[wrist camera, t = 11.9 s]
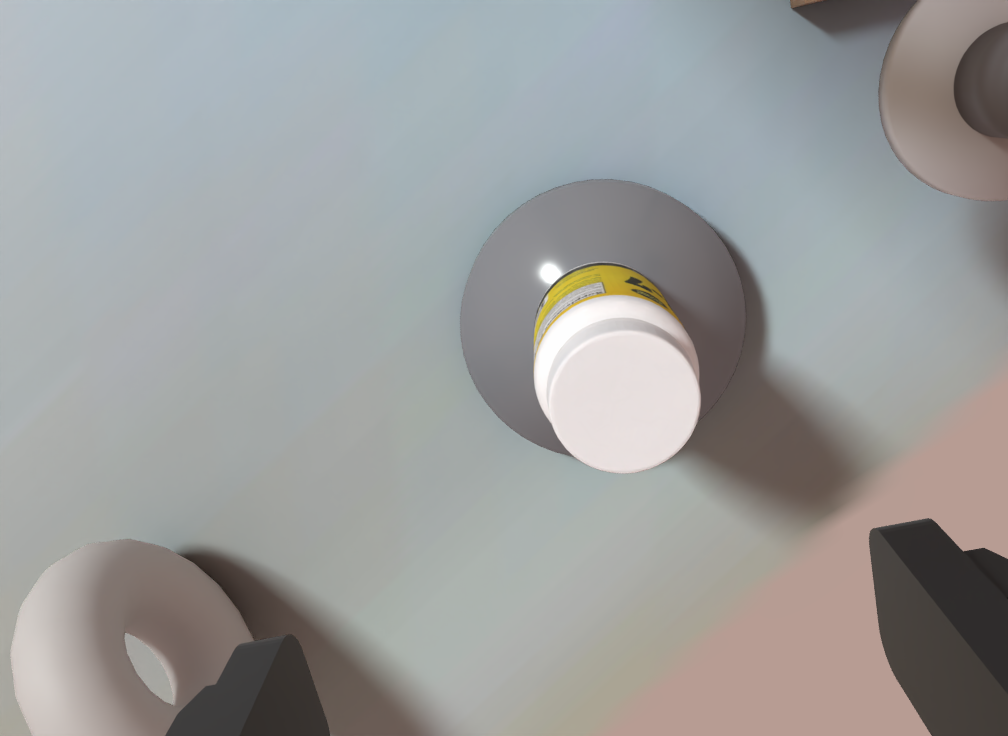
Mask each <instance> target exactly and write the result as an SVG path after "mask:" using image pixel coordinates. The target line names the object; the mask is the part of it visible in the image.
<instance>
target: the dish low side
mask: <svg viewBox="0 0 1008 736" xmlns="http://www.w3.org/2000/svg"><path fill="white" fill-rule="evenodd" d="M593 262H614V263H620V264H623V265H626V266H629V267H631V268H633V269H635V270H637V271H639V272H640V273H642V274H643V275H645V276H646V277H647V278H648V279H649V280H650V281H651V282H652V283H653V284H654V285H655V286H656V287H657V288H658V289H659V291H660V292H661V293H662V295H663V296H664V298H665V299H666V301H667V302H668V304H669V305H670V307H671V309H672V310H673V312H674V313H675V314H676V316H677V317H678V319H679V321H680V322H681V323H682V325H683V326H684V328H685V329H686V331H687V333H688V335H689V337H690V338H691V340H692V342H693V345H694V348H695V351H696V354H697V358H698V363H699V386H700V392H701V407H700V414H699V418H698V421H699V420H700V419H701V418H702V417H703V416H705V415H706V413H707V412H708V411H709V410H710V409H711V408H712V407H713V405H714V404H715V403H716V402H717V401H718V399H719V398H720V396H721V395H722V393H723V392H724V390H725V389H726V387H727V386H728V384H729V382H730V380H731V378H732V376H733V374H734V372H735V369H736V367H737V364H738V361H739V358H740V355H741V352H742V347H743V342H744V337H745V325H746V309H745V297H744V293H743V288H742V283H741V279H740V277H739V274H738V271H737V268H736V266H735V263H734V261H733V259H732V257H731V255H730V254H729V252H728V250H727V248H726V246H725V245H724V244H723V242H722V241H721V239H720V238H719V237H718V235H717V234H716V232H715V231H714V230H713V229H712V228H711V227H710V226H709V225H708V224H707V223H706V222H705V221H704V220H703V219H702V218H701V217H700V216H698V215H697V214H696V213H695V212H693V211H692V210H691V209H689V208H688V207H687V206H685V205H684V204H683V203H681V202H679V201H678V200H676V199H674V198H673V197H671V196H669V195H667V194H666V193H663V192H661V191H659V190H656V189H654V188H651V187H649V186H645V185H641V184H638V183H634V182H630V181H621V180H613V179H596V180H586V181H579V182H573V183H570V184H566V185H563V186H559V187H556V188H553V189H551V190H549V191H546V192H544V193H542V194H539V195H537V196H536V197H534V198H532V199H531V200H529V201H527V202H526V203H524V204H522V205H521V206H520V207H519V208H517V209H516V210H515V211H514V212H512V213H511V214H510V215H509V216H507V217H506V218H505V219H504V221H503V222H502V223H501V224H500V225H499V226H498V227H497V228H496V229H495V230H494V231H493V233H492V234H491V235H490V237H489V238H488V239H487V241H486V242H485V244H484V245H483V247H482V249H481V251H480V252H479V254H478V256H477V258H476V260H475V262H474V265H473V267H472V270H471V272H470V275H469V277H468V280H467V283H466V287H465V291H464V295H463V299H462V306H461V316H460V330H461V342H462V348H463V354H464V357H465V361H466V364H467V367H468V370H469V373H470V375H471V377H472V379H473V382H474V384H475V386H476V388H477V389H478V391H479V393H480V394H481V396H482V397H483V399H484V400H485V402H486V403H487V405H488V406H489V407H490V408H491V409H492V410H493V412H494V413H495V414H496V415H497V416H498V417H499V418H500V419H501V420H502V421H503V422H504V423H505V424H506V425H508V426H509V427H510V428H511V429H512V430H514V431H515V432H517V433H518V434H520V435H521V436H522V437H524V438H526V439H527V440H529V441H531V442H533V443H535V444H537V445H539V446H541V447H544V448H546V449H549V450H551V451H554V452H557V453H561V454H565V455H569V456H573V455H572V454H571V453H570V452H569V451H568V450H567V449H566V448H565V447H564V445H563V444H562V443H561V441H560V440H559V439H558V437H557V435H556V433H555V431H554V429H553V426H552V424H551V423H550V421H549V420H548V418H547V417H546V416H545V414H544V412H543V410H542V408H541V406H540V404H539V401H538V398H537V395H536V390H535V385H534V323H535V316H536V312H537V309H538V306H539V303H540V301H541V299H542V297H543V296H544V294H545V292H546V291H547V290H548V288H549V287H550V286H551V285H552V284H553V283H554V282H555V281H556V280H557V279H558V278H559V277H560V276H562V275H563V274H564V273H566V272H568V271H569V270H571V269H573V268H575V267H578V266H580V265H584V264H587V263H593ZM698 421H697V422H698ZM573 457H574V456H573Z"/></svg>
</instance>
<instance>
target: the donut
mask: <svg viewBox="0 0 1008 736" xmlns="http://www.w3.org/2000/svg"><path fill="white" fill-rule="evenodd" d="M125 633H128V634H130V635H133V636H135V637H136V638H138V639H139V640H140V641H141V642H143V643H144V644H145V645H146V646H148V647H149V648H150V649H151V651H152V652H153V653H154V654H155V656H156V657H157V658H158V660H159V661H160V662H161V663H162V666H163V668H164V670H165V672H166V674H167V676H168V678H169V680H170V684H171V689H172V693H173V705H171V704H169V703H166V702H164V701H163V700H162V699H160V698H159V697H158V696H156V695H155V694H154V693H153V692H151V691H150V690H149V688H148V687H147V686H146V685H145V683H144V682H143V681H142V679H141V678H140V677H139V676H138V674H137V673H136V671H135V669H134V667H133V665H132V662H131V660H130V658H129V656H128V654H127V650H126V645H125V640H124V636H125ZM251 641H254V639H253V637H252V635H251V633H250V632H249V630H248V628H247V626H246V624H245V622H244V620H243V618H242V616H241V614H240V612H239V610H238V609H237V608H236V607H235V605H234V604H233V603H232V601H231V600H230V599H229V598H228V596H227V595H226V594H225V592H224V591H223V590H222V588H221V587H220V586H219V585H218V584H217V583H216V582H215V581H214V580H213V579H212V578H210V577H209V576H208V575H207V574H206V573H205V572H204V571H202V570H201V569H200V568H199V567H198V566H197V565H196V564H194V563H193V562H191V561H189V560H187V559H186V558H184V557H182V556H180V555H178V554H176V553H175V552H173V551H171V550H169V549H167V548H164V547H161V546H158V545H154V544H150V543H145V542H141V541H136V540H132V539H123V540H115V541H107V542H99V543H91V544H87V545H85V546H83V547H81V548H79V549H77V550H75V551H74V552H72V553H70V554H69V555H67V556H65V557H64V558H62V559H61V560H59V561H57V562H56V563H54V564H52V565H51V566H49V567H48V568H47V570H46V571H45V572H44V573H43V574H42V575H41V576H40V578H39V579H38V581H37V582H36V584H35V585H34V587H33V588H32V590H31V591H30V593H29V594H28V596H27V597H26V599H25V600H24V602H23V603H22V605H21V608H20V611H19V614H18V617H17V622H16V627H15V632H14V637H13V642H12V647H11V652H10V656H11V664H12V672H13V680H14V688H15V696H16V699H17V701H18V704H19V706H20V708H21V711H22V713H23V715H24V718H25V720H26V722H27V725H28V727H29V729H30V731H31V734H32V736H165V735H166V733H167V731H168V730H169V728H170V726H171V724H172V723H173V721H174V719H175V717H176V716H177V714H178V713H179V712H180V711H181V710H182V709H183V708H184V707H185V706H186V705H187V704H188V703H189V702H190V701H191V700H192V699H193V698H194V697H195V696H196V695H197V694H198V693H199V692H200V691H201V690H202V689H203V688H204V687H205V686H209V685H215V684H216V683H217V681H218V679H219V677H220V675H221V674H222V672H223V670H224V668H225V666H226V664H227V662H228V660H229V659H230V657H231V655H232V653H233V651H234V649H235V648H236V647H237V646H238V645H239V644H241V643H246V642H251Z"/></svg>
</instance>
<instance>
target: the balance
mask: <svg viewBox="0 0 1008 736" xmlns="http://www.w3.org/2000/svg"><path fill="white" fill-rule="evenodd" d="M821 1H826V0H790V3H791V8H795V7H800V6H804V5H808V4H813V3H817V2H821ZM878 92H879V111H880V117H881V122H882V126H883V129H884V132H885V136H886V138H887V140H888V142H889V144H890V146H891V149H892V150H893V152H894V153H895V155H896V156H897V158H898V159H899V161H900V162H901V163H902V164H903V165H904V166H905V167H906V169H907V170H908V171H909V172H910V173H912V174H913V175H914V176H915V177H916V178H918V179H919V180H920V181H922V182H924V183H925V184H927V185H928V186H930V187H932V188H934V189H937V190H939V191H941V192H944V193H947V194H951V195H955V196H959V197H963V198H968V199H973V200H981V201H1003V200H1008V0H917V1H916V3H915V4H914V5H913V6H912V7H911V9H910V10H909V11H908V12H907V14H906V15H905V17H904V18H903V20H902V21H901V23H900V24H899V26H898V27H897V29H896V31H895V33H894V35H893V37H892V39H891V41H890V43H889V46H888V49H887V52H886V54H885V57H884V60H883V65H882V69H881V73H880V81H879V91H878Z"/></svg>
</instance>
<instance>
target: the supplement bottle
mask: <svg viewBox="0 0 1008 736" xmlns="http://www.w3.org/2000/svg"><path fill="white" fill-rule="evenodd" d="M534 385H535V390H536V395H537V398H538V401H539V404H540V406H541V408H542V410H543V412H544V414H545V416H546V417H547V418H548V420H549V421H550V423H551V424H552V426H553V429H554V431H555V433H556V435H557V437H558V439H559V440H560V441H561V443H562V444H563V445H564V447H565V448H566V449H567V450H568V451H569V452H570V453H571V454H572V455H573V456H574V457H576V458H577V459H578V460H580V461H581V462H583V463H585V464H587V465H588V466H591V467H593V468H596V469H599V470H602V471H607V472H611V473H634V472H640V471H644V470H647V469H650V468H653V467H655V466H657V465H659V464H661V463H663V462H665V461H667V460H668V459H670V458H671V457H672V456H674V455H675V454H676V453H677V452H678V451H679V450H680V449H681V448H682V447H683V446H684V445H685V444H686V442H687V441H688V439H689V438H690V436H691V435H692V433H693V431H694V429H695V426H696V424H697V421H698V418H699V414H700V407H701V392H700V386H699V363H698V358H697V354H696V351H695V348H694V345H693V342H692V340H691V338H690V337H689V335H688V333H687V331H686V329H685V328H684V326H683V325H682V323H681V322H680V321H679V319H678V317H677V316H676V314H675V313H674V312H673V310H672V309H671V307H670V305H669V304H668V302H667V301H666V299H665V298H664V296H663V295H662V293H661V292H660V291H659V289H658V288H657V287H656V286H655V285H654V284H653V283H652V282H651V281H650V280H649V279H648V278H647V277H646V276H645V275H643V274H642V273H640V272H639V271H637V270H635V269H633V268H631V267H629V266H626V265H623V264H620V263H614V262H593V263H587V264H584V265H580V266H578V267H575V268H573V269H571V270H569V271H568V272H566V273H564V274H563V275H562V276H560V277H559V278H558V279H557V280H556V281H555V282H554V283H553V284H552V285H551V286H550V287H549V288H548V290H547V291H546V292H545V294H544V296H543V297H542V299H541V301H540V303H539V306H538V309H537V312H536V316H535V323H534Z"/></svg>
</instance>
